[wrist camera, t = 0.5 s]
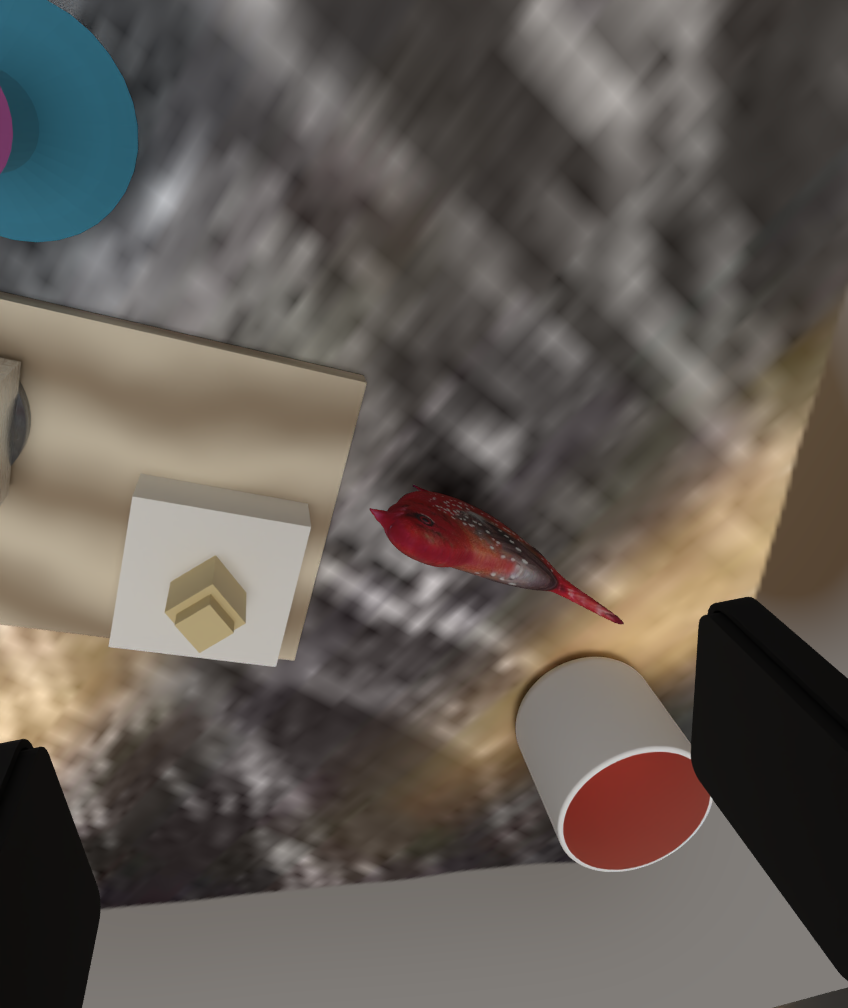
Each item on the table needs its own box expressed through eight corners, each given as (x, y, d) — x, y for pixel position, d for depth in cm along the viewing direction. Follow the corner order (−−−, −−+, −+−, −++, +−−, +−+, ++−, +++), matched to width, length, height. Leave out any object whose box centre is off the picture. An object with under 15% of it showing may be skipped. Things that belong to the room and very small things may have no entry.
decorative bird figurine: (365, 431, 45) (392, 503, 36) (598, 555, 51) (669, 643, 42) (339, 472, 45) (359, 554, 37) (572, 589, 52) (637, 683, 43)
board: (-186, 248, 36) (-203, 252, 35) (363, 375, 43) (366, 382, 42) (-185, 585, 42) (-199, 600, 41) (293, 646, 50) (294, 660, 48)
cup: (500, 764, 57) (545, 879, 48) (521, 649, 53) (574, 752, 44) (627, 757, 59) (692, 866, 51) (656, 646, 55) (733, 743, 47)
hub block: (140, 473, 42) (119, 532, 35) (307, 503, 44) (315, 563, 38) (117, 616, 45) (94, 693, 39) (274, 637, 47) (277, 712, 41)
